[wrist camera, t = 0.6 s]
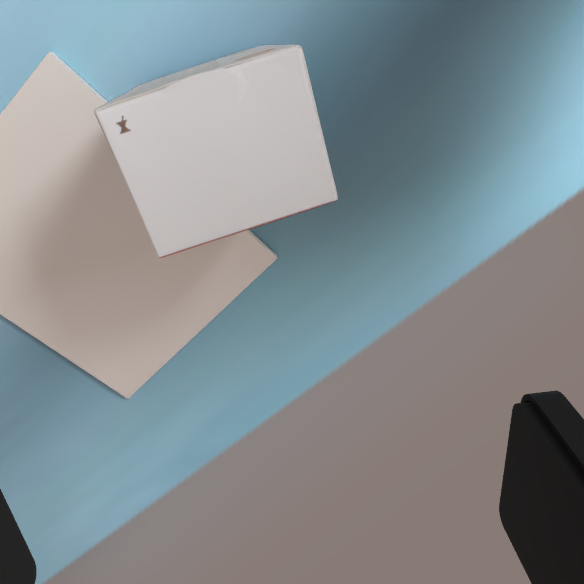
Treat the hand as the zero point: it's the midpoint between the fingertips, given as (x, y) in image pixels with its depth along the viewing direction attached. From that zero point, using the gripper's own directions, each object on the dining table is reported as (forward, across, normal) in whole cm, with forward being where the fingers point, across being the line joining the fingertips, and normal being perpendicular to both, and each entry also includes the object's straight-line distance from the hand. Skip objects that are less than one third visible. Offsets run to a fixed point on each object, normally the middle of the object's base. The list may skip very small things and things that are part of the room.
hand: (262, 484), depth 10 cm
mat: (+27, +11, +6) cm, 30 cm away
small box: (+27, +2, -2) cm, 27 cm away
